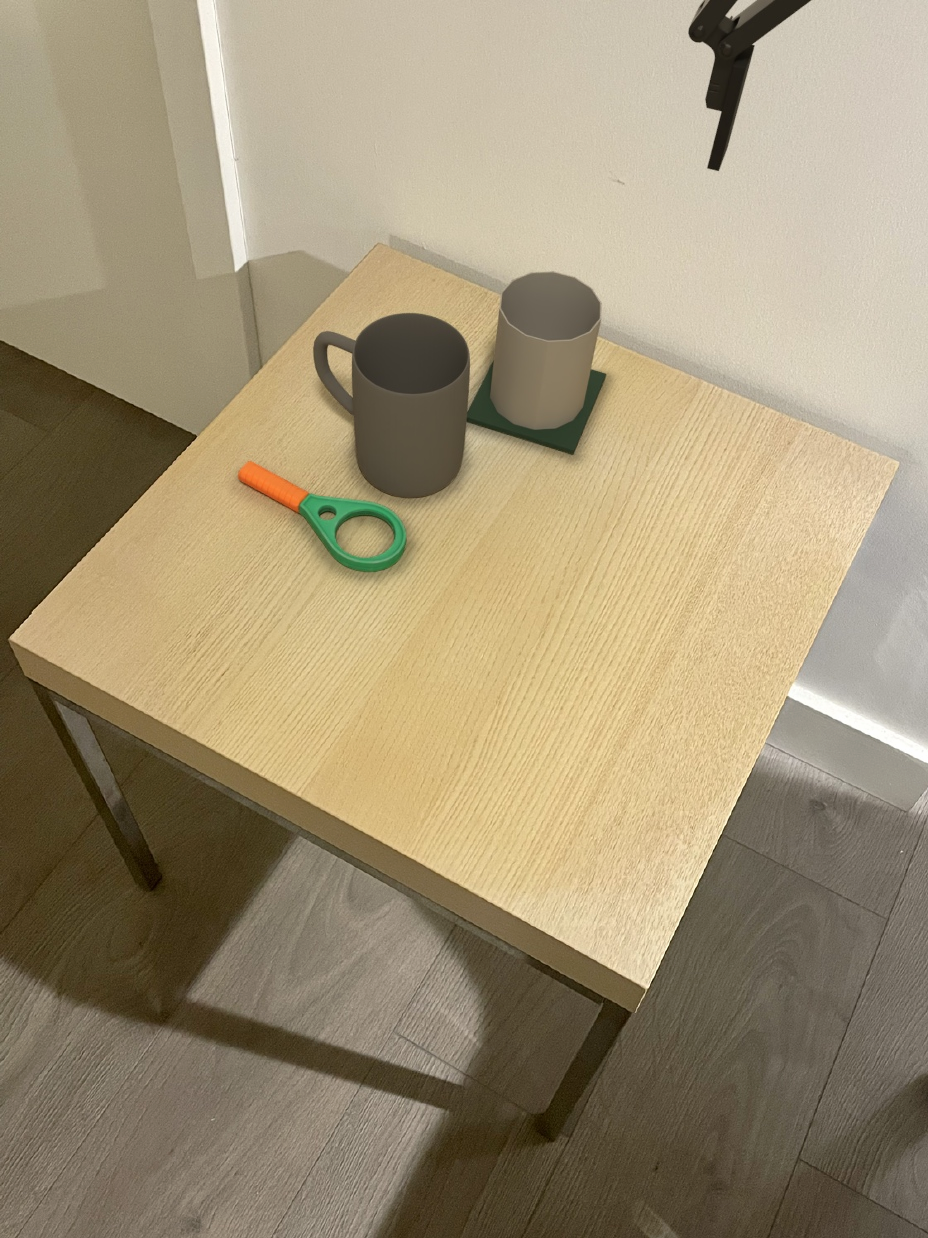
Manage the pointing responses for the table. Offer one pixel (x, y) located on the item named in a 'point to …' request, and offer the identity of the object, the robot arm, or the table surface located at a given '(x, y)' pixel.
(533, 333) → the cup
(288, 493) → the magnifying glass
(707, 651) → the table surface
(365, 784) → the table surface
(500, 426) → the coaster mat
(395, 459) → the mug
